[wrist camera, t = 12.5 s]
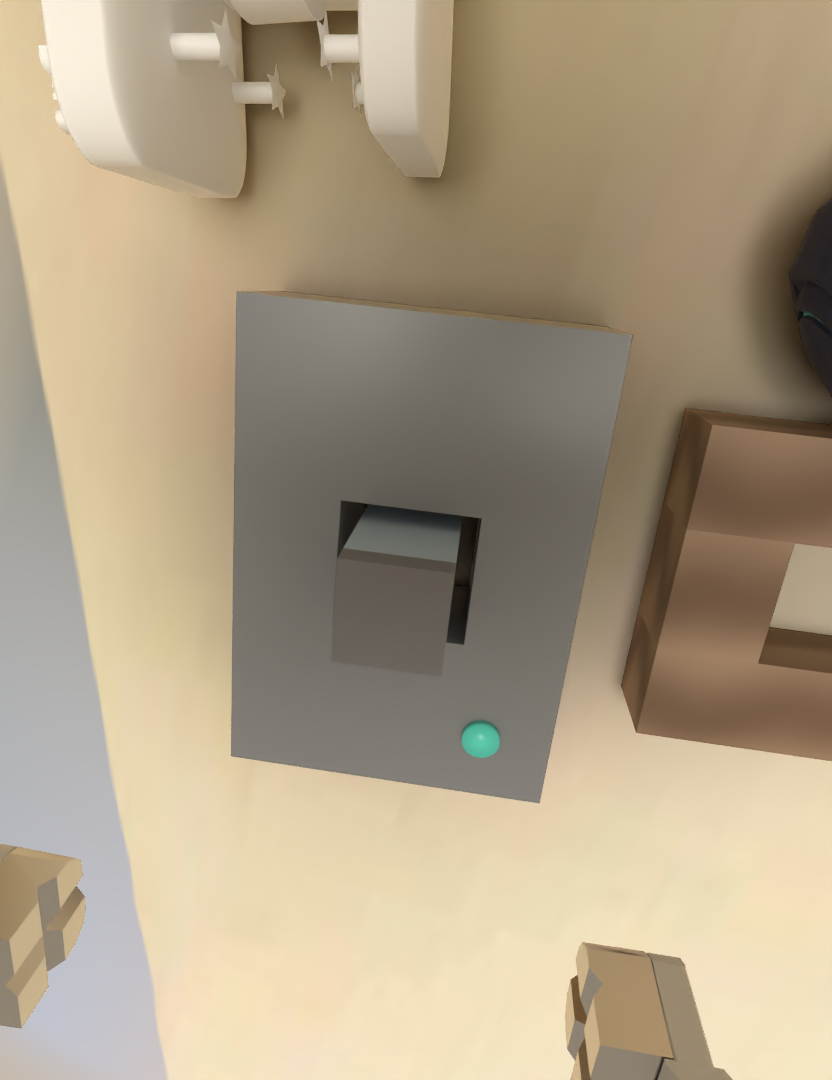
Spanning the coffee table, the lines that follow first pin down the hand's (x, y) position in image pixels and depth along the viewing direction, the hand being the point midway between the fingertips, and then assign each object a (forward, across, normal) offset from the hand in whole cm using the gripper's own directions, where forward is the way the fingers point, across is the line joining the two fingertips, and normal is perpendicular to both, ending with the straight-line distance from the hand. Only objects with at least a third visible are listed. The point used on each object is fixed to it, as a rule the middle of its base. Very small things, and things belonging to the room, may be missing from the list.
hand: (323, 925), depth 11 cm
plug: (+23, +1, +2) cm, 23 cm away
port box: (+23, +1, +2) cm, 23 cm away
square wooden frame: (+23, -17, +1) cm, 29 cm away
